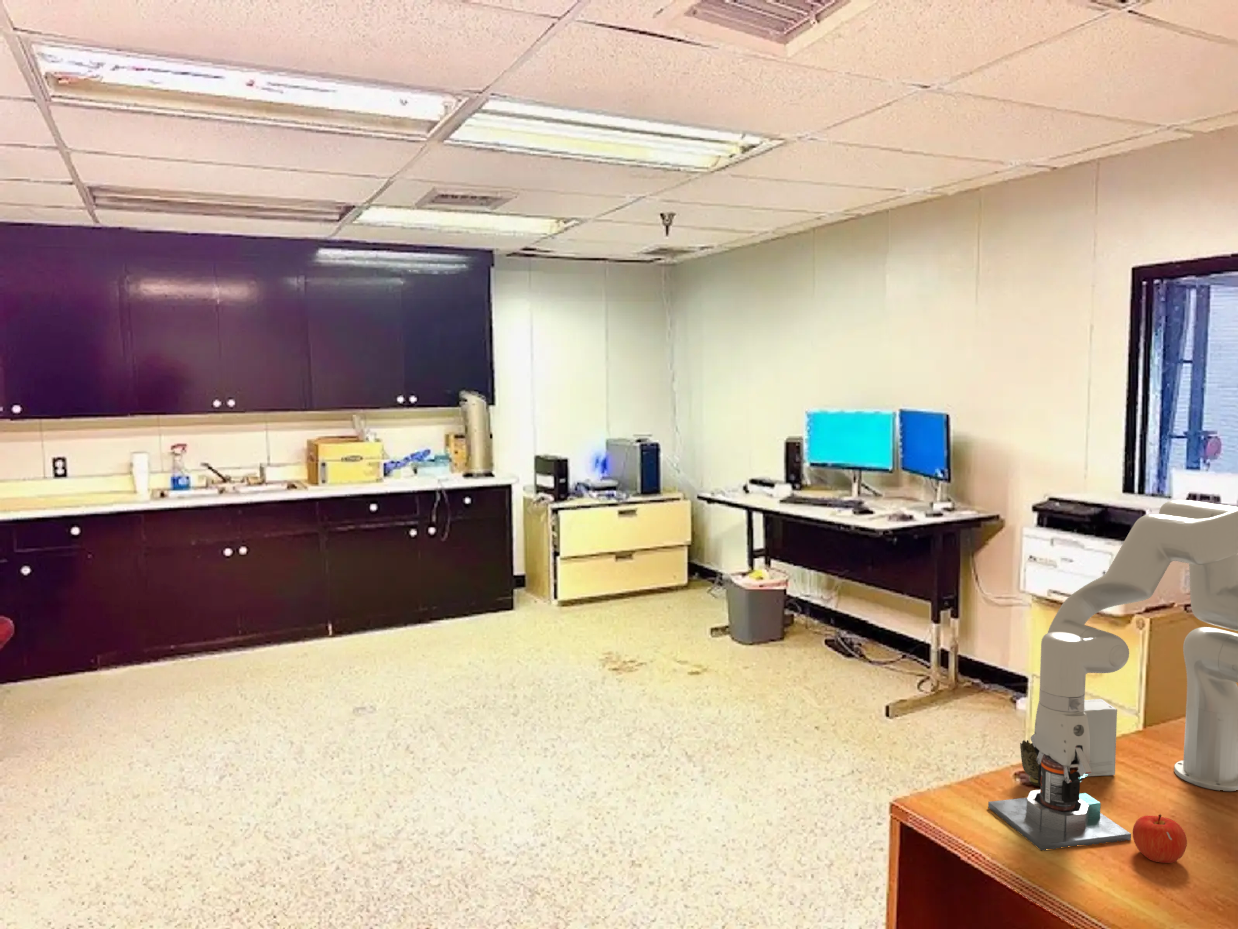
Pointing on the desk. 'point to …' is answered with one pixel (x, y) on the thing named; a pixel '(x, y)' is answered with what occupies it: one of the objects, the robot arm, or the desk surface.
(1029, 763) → the cup
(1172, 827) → the apple
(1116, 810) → the desk surface
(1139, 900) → the desk surface
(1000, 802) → the hub plate
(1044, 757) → the supplement bottle
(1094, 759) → the skincare box
